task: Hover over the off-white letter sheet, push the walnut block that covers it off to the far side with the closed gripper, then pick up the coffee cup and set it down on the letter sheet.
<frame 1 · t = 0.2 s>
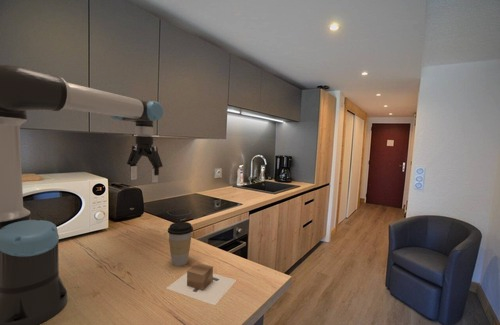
hand: (144, 180, 110), 28 cm above the countertop, fingers open, 13 cm apart
walnut block: (200, 283, 77), resting on letter sheet
coffee cup: (180, 263, 90), on the countertop
letter sheet: (202, 284, 76), on the countertop
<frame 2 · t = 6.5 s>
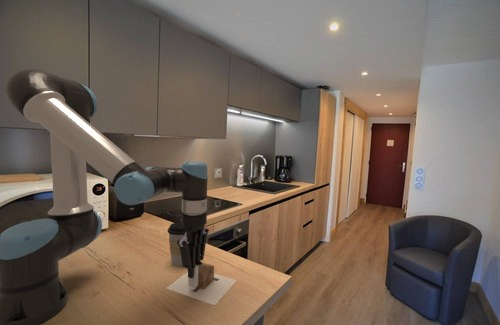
hand: (193, 285, 73), 2 cm above the countertop, fingers closed
walnut block: (201, 282, 77), resting on letter sheet, touching gripper
everything else where it was.
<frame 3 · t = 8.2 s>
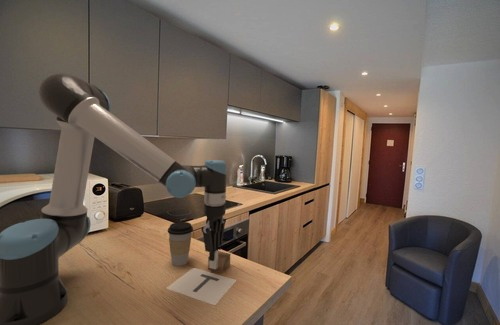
hand: (213, 267, 84), 2 cm above the countertop, fingers closed
walnut block: (219, 268, 87), on the countertop, touching gripper
everything else where it was.
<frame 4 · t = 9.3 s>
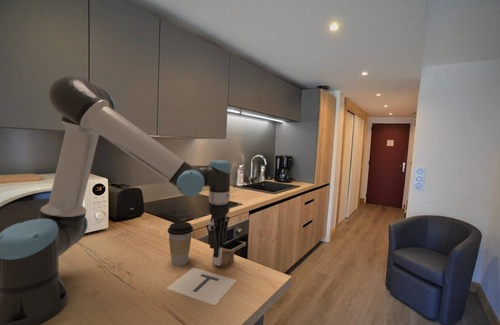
hand: (217, 264, 87), 2 cm above the countertop, fingers closed
walnut block: (223, 264, 90), on the countertop, touching gripper
everything else where it was.
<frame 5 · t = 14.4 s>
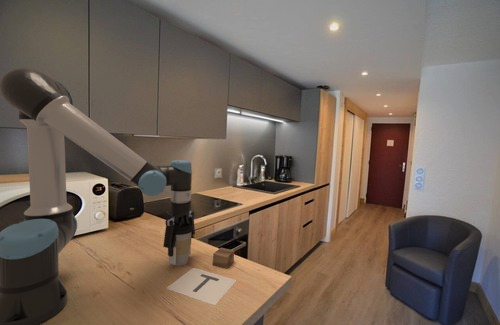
hand: (180, 258, 90), 2 cm above the countertop, fingers closed on coffee cup, 8 cm apart
walnut block: (223, 264, 90), on the countertop
coffee cup: (180, 263, 90), on the countertop, touching gripper
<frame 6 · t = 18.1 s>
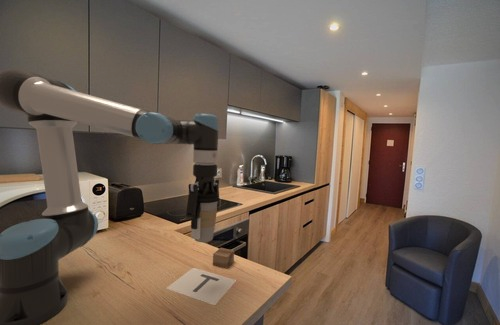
hand: (203, 233, 75), 17 cm above the countertop, fingers closed on coffee cup, 8 cm apart
coffee cup: (204, 239, 75), point 15 cm above the countertop, touching gripper
everything else where it was.
when the fingers open (2 cm above the countertop, at t = 21.8 s): coffee cup stays where it is, resting on letter sheet.
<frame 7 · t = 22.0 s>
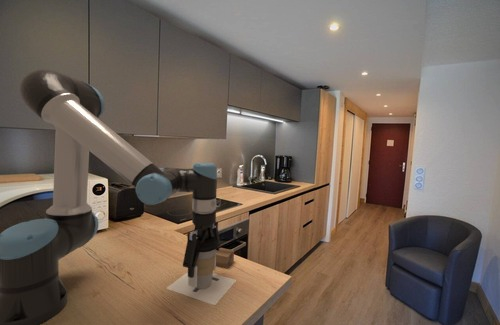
hand: (202, 276, 76), 3 cm above the countertop, fingers open, 10 cm apart
coffee cup: (202, 284, 76), resting on letter sheet
everything else where it was.
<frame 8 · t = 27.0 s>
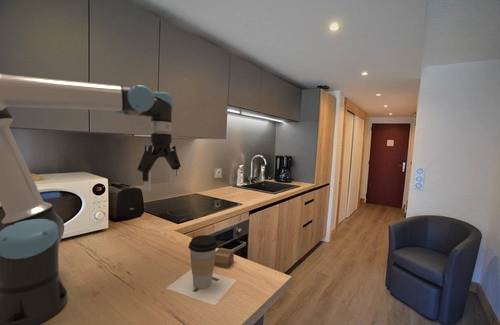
hand: (160, 187, 92), 29 cm above the countertop, fingers open, 13 cm apart
nothing on the countertop moved.
at the end: coffee cup inside the target area on the letter sheet (0.0 cm from its centre), point 0.1 cm above the letter sheet's base; coffee cup tilted 0°; walnut block inside the target area (7.5 cm from its centre), on the countertop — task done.
